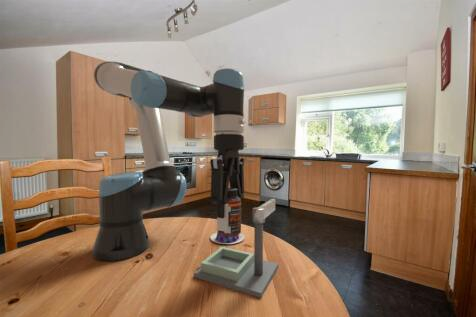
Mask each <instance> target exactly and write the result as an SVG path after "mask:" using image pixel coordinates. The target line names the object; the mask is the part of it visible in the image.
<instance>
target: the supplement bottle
mask: <svg viewBox="0 0 476 317" xmlns="http://www.w3.org/2000/svg"><path fill="white" fill-rule="evenodd" d="M237 194H238V193H237V189H236V188H230V187H228V193H227V200H226V203H227V204H228V231H227V232H225V231H219V230H217V232H218V234H219V235H221V236H224V237H234V236H237V235H239V234H240V233H242V232H241V231H242V200H241V198H239V197H238V195H237Z"/></svg>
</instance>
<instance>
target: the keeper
mask: <svg viewBox="0 0 476 317" xmlns="http://www.w3.org/2000/svg"><path fill="white" fill-rule="evenodd" d="M275 211H276V199H275V198H270V199H269V200H267V201H265V203H262V204H261V205H260V206H258V207H253V208H252V222H253V224H254V223H263V224H264V223H266V222H265V220H266V218H267V217H268V216H270V215H271V214H272V213H274V212H275Z"/></svg>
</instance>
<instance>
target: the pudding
mask: <svg viewBox="0 0 476 317" xmlns="http://www.w3.org/2000/svg"><path fill="white" fill-rule="evenodd" d="M239 235H240V236H241V238H240V237H239ZM239 235H237V236H234V237H224V236H221V235H219V234H218V231H216V232H214V233H212V234H211V235H210V240H211V241H212V242H214V243H216V244H222V245H233V244H237V243H241V242H242V241H244V240H245V234H244V233H243V232H241V233H240V234H239Z"/></svg>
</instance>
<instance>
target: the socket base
mask: <svg viewBox="0 0 476 317" xmlns="http://www.w3.org/2000/svg"><path fill="white" fill-rule="evenodd" d="M253 224H254V225H253V226H254V230H253V231H254V234H253V236H254V237H253V238H254V240H253V241H254V245H253V246H254V248H253V249H254V251H253V252H247V251H242V250H239V249H234V248H229V247H224V246H220V247H219V248H218V249H217V250H215V251H214V252H213V253H211V254H210V255H209V256H208V257H206V258H205V259H204V260H203V261H201V262H200V268H198V269H196V271H195V272H193V278H195V279H199V280H202V281H206V282H209V283H211V284H215V285H218V286H222V287H225V288H227V289H228V288H229V289H230V290H233V291H237V292H240V293H244V294H248V295H251V296H254V297H257V298H260V299H261V298H262V297H263V295H264V293H265V292H266V290H267V289H268V287H269V285H270V283H271V281H272V279H273V277H274V276H275V274H276V272H277V270H278V269H279V263H278V262H277V263H276V262H273V261H267V260H264V246H263V245H264V223H254V222H253Z"/></svg>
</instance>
